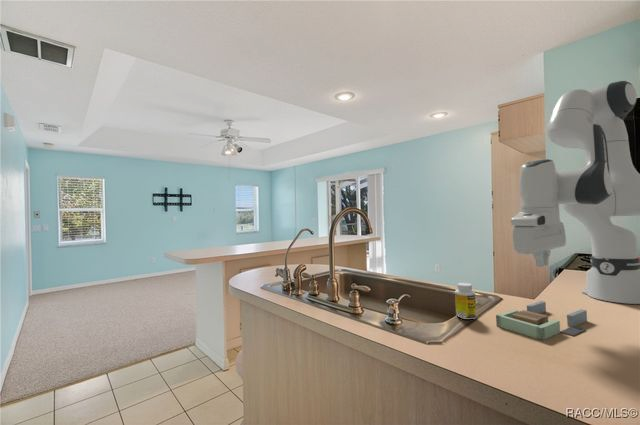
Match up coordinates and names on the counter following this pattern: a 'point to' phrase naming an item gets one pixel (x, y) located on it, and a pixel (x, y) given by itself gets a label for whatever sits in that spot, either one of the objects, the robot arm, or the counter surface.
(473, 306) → the supplement bottle
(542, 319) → the walnut block
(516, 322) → the trap channel
